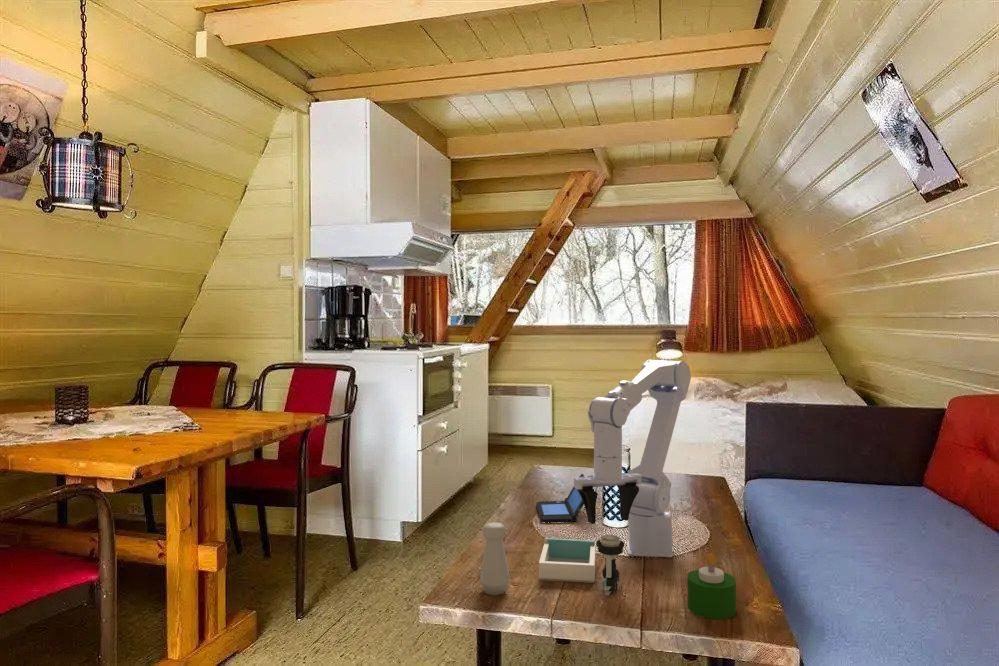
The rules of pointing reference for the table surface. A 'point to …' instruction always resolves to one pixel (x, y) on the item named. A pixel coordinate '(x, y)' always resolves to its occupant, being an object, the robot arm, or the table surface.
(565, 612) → the table surface
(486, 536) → the salt shaker
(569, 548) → the gate
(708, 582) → the candle
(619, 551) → the push button
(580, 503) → the handheld game console
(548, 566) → the bay
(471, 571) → the table surface
